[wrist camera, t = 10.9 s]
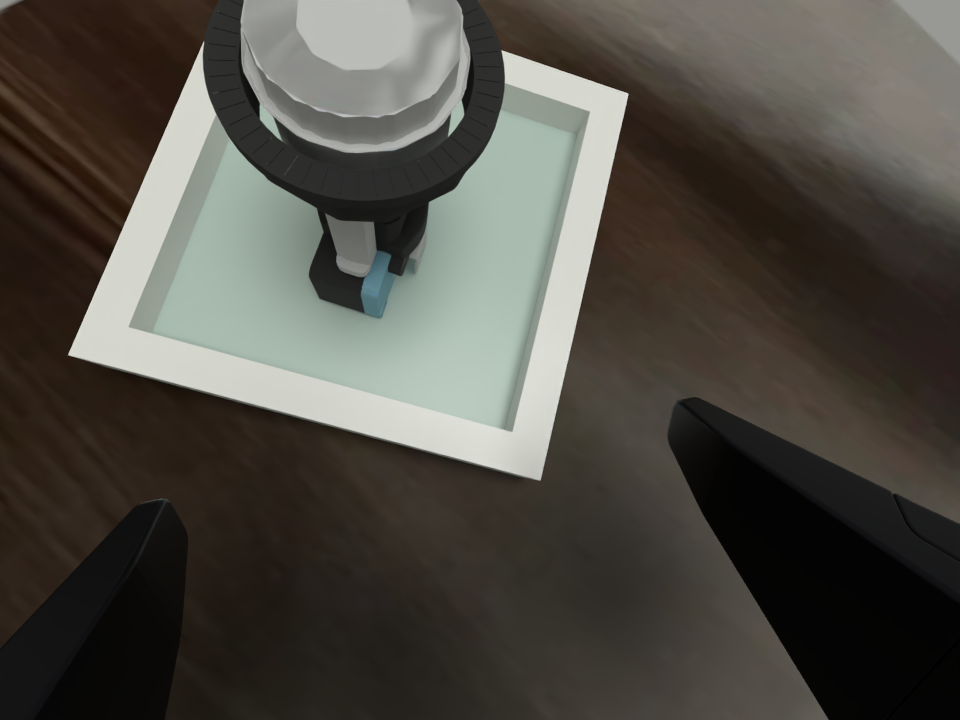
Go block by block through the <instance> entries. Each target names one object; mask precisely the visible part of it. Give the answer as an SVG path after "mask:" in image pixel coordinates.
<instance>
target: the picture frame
mask: <svg viewBox="0 0 960 720" xmlns="http://www.w3.org/2000/svg"><path fill="white" fill-rule="evenodd" d="M203 47H204V42H203V45H202V47H201V49H200V52H199V54H198V56H197V59H196V61H195V63H194V66H193V68H192V70H191V72H190V75H189V77H188V79H187V82H186V84H185V86H184V89H183V91H182V93H181V96H180V98H179V100H178V103H177V105H176V107H175V109H174V112H173V114H172V116H171V119H170V121H169V123H168V126H167V128H166V130H165V133H164V135H163V137H162V139H161V142H160V144H159V146H158V149H157V151H156V153H155V156H154V158H153V160H152V163H151V165H150V167H149V170H148V172H147V174H146V176H145V179H144V181H143V183H142V186H141V188H140V190H139V193H138V195H137V197H136V200H135V202H134V204H133V206H132V209H131V211H130V213H129V216H128V218H127V220H126V223H125V225H124V227H123V230H122V232H121V234H120V237H119V239H118V241H117V243H116V246H115V248H114V250H113V253H112V255H111V257H110V260H109V262H108V264H107V267H106V269H105V271H104V273H103V276H102V278H101V280H100V283H99V285H98V287H97V290H96V292H95V294H94V297H93V299H92V301H91V304H90V306H89V308H88V310H87V313H86V315H85V317H84V320H83V322H82V324H81V327H80V329H79V331H78V334H77V336H76V338H75V340H74V343H73V345H72V347H71V350H70V352H69V354H68V355H70V356H73V357H76V358H79V359H83V360H86V361H89V362H92V363H95V364H98V365H101V366H105V367H108V368H111V369H115V370H119V371H123V372H126V373H130V374H134V375H138V376H141V377H145V378H149V379H153V380H156V381H160V382H164V383H168V384H171V385H175V386H179V387H183V388H187V389H190V390H194V391H198V392H202V393H205V394H209V395H213V396H217V397H220V398H224V399H228V400H232V401H235V402H239V403H243V404H247V405H250V406H254V407H258V408H262V409H266V410H269V411H273V412H277V413H281V414H284V415H288V416H292V417H296V418H299V419H303V420H307V421H311V422H314V423H318V424H322V425H326V426H329V427H333V428H337V429H341V430H344V431H348V432H352V433H356V434H360V435H363V436H367V437H371V438H375V439H378V440H382V441H386V442H390V443H393V444H397V445H401V446H405V447H408V448H412V449H416V450H420V451H423V452H427V453H431V454H435V455H439V456H442V457H446V458H450V459H454V460H457V461H461V462H465V463H469V464H472V465H476V466H480V467H484V468H487V469H491V470H495V471H499V472H502V473H506V474H510V475H514V476H517V477H521V478H526V479H532V480H539V481H541V476H542V472H543V468H544V463H545V459H546V454H547V450H548V446H549V441H550V437H551V432H552V428H553V424H554V419H555V415H556V410H557V406H558V402H559V397H560V393H561V388H562V384H563V380H564V375H565V371H566V366H567V362H568V358H569V353H570V349H571V344H572V340H573V336H574V331H575V327H576V322H577V318H578V314H579V309H580V305H581V300H582V296H583V292H584V287H585V283H586V278H587V274H588V270H589V265H590V261H591V256H592V252H593V248H594V243H595V239H596V234H597V230H598V226H599V221H600V217H601V212H602V208H603V204H604V199H605V195H606V190H607V186H608V182H609V177H610V173H611V168H612V164H613V160H614V155H615V151H616V146H617V142H618V138H619V133H620V129H621V124H622V120H623V116H624V111H625V107H626V102H627V98H628V93H625V92H622V91H619V90H616V89H613V88H610V87H607V86H604V85H601V84H598V83H595V82H592V81H590V80H587V79H584V78H581V77H578V76H575V75H572V74H569V73H566V72H563V71H560V70H557V69H554V68H552V67H549V66H546V65H543V64H540V63H537V62H534V61H531V60H528V59H525V58H522V57H519V56H516V55H513V54H511V53H508V52H505V51H502V50H501V51H502V56H503V61H504V70H505V89H504V96H503V102H502V107H501V110H500V113H499V117H498V120H497V124H496V127H495V130H494V132H493V134H492V137H491V139H490V141H489V143H488V144H487V146H486V148H485V149H484V151H483V153H482V154H481V155H480V157H479V158H478V159H477V161H476V162H475V163H474V164H473V165H472V166H471V167H470V168H469V169H468V170H467V171H466V173H465V174H464V176H463V178H462V179H461V181H460V183H459V184H458V186H457V187H456V188H455V189H454V190H452V191H450V192H448V193H446V194H444V195H442V196H440V197H438V198H436V199H434V200H432V201H430V202H429V208H428V217H427V225H426V229H427V238H426V246H425V249H424V253H423V256H422V259H421V261H420V264H419V267H418V270H417V273H416V274H415V273H414V264H415V260H414V259H411V258H409V259H408V262H407V265H406V268H405V271H404V273H403V275H402V276H398V275H396V276H395V278H394V281H393V284H392V287H391V290H390V293H389V296H388V299H387V305H386V307H385V310H384V313H383V316H382V318H379V317H376V316H372V315H369V314H366V313H362V312H359V311H356V310H353V309H350V308H347V307H344V306H341V305H338V304H334V303H331V302H328V301H325V300H322V299H319V297H318V295H317V293H316V291H315V289H314V287H313V285H312V282H311V280H310V278H309V270H310V266H311V263H312V261H313V258H314V256H315V253H316V250H317V248H318V245H319V243H320V240H321V237H322V235H323V229H322V226H321V223H320V219H319V216H318V212H317V208H315V207H314V206H312V205H310V204H308V203H307V202H305V201H303V200H301V199H300V198H298V197H296V196H294V195H293V194H291V193H289V192H287V191H286V190H284V189H282V188H280V187H279V186H277V185H275V184H273V183H272V182H270V181H269V180H268V179H267V178H266V177H265V176H264V175H263V174H262V173H261V172H259V171H258V170H257V169H256V168H255V167H254V166H253V165H252V164H251V163H249V162H248V161H247V159H246V158H245V157H244V156H243V155H242V154H241V153H240V152H239V151H238V149H237V148H236V146H235V145H234V144H233V142H232V141H231V140H230V138H229V137H228V135H227V133H226V131H225V129H224V128H223V126H222V124H221V122H220V120H219V118H218V117H217V115H216V113H215V110H214V108H213V106H212V103H211V101H210V98H209V95H208V91H207V88H206V84H205V78H204V72H203ZM463 116H464V109H463V105H462V100H461V101H460V102H459V103H458V105H457V106H456V107H455V109H454V110H453V112H452V114H451V120H450V127H449V133H448V137H449V136H450V134H451V133H452V132H453V131H454V130H455V129H456V127H457V126H458V124H459V123H460V121H461V120H462V118H463ZM260 120H261V121H262V122H263V124H264V125H265V126H266V127H267V128H268V129H269V130H270V131H271V132H272V133H273V134H274V135H275V136H276V137H277V138H279V139H280V140H281V137H280V134H279V132H278V129H277V126H276V123H275V120H274V118H273V116H272V115H271V114H269V113H268V112H267V111H266V110H265V109H264V107H263V106H262V105H261V104H260ZM281 141H282V140H281Z"/></svg>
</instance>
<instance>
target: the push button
mask: <svg viewBox="0 0 960 720" xmlns="http://www.w3.org/2000/svg"><path fill="white" fill-rule="evenodd" d="M203 72H204V78H205V84H206V88H207V91H208V95H209V98H210V101H211V103H212V106H213V108H214V110H215V113H216V115H217V117H218V118H219V120H220V122H221V124H222V126H223V128H224V129H225V131H226V133H227V135H228V137H229V138H230V140H231V141H232V142H233V144H234V145H235V146H236V148H237V149H238V151H239V152H240V153H241V154H242V155H243V156H244V157H245V158H246V159H247V161H248V162H249V163H251V164H252V165H253V166H254V167H255V168H256V169H257V170H258V171H259V172H261V173H262V174H263V175H264V176H265V177H266V178H267V179H268V180H269V181H270V182H272V183H273V184H275V185H277V186H279V187H280V188H282V189H284V190H286V191H287V192H289V193H291V194H293V195H294V196H296V197H298V198H300V199H301V200H303V201H305V202H307V203H308V204H310V205H312V206H314V207H315V208H317V212H318V216H319V219H320V223H321V226H322V229H323V235H322V237H321V240H320V243H319V245H318V248H317V250H316V253H315V256H314V258H313V261H312V263H311V266H310V270H309V278H310V280H311V282H312V285H313V287H314V289H315V291H316V293H317V295H318V297H319V299H322V300H325V301H328V302H331V303H334V304H338V305H341V306H344V307H347V308H350V309H353V310H356V311H359V312H362V313H366V314H369V315H372V316H376V317H379V318H382V316H383V313H384V310H385V307H386V305H387V299H388V296H389V293H390V290H391V287H392V284H393V281H394V278H395V276H396V275H398V276H402V275H403V273H404V271H405V268H406V265H407V262H408V259H409V258H411V259H414V260H415V264H414V273H415V274H416V273H417V270H418V267H419V264H420V261H421V259H422V256H423V253H424V249H425V246H426V238H427V229H426V225H427V217H428V208H429V202H430V201H432V200H434V199H436V198H438V197H440V196H442V195H444V194H446V193H448V192H450V191H452V190H454V189H455V188H456V187H457V186H458V184H459V183H460V181H461V179H462V178H463V176H464V174H465V173H466V171H467V170H468V169H469V168H470V167H471V166H472V165H473V164H474V163H475V162H476V161H477V159H478V158H479V157H480V155H481V154H482V153H483V151H484V149H485V148H486V146H487V144H488V143H489V141H490V139H491V137H492V134H493V132H494V130H495V127H496V124H497V120H498V117H499V113H500V110H501V107H502V102H503V96H504V89H505V70H504V61H503V56H502V51H501V47H500V44H499V41H498V38H497V35H496V33H495V30H494V28H493V26H492V24H491V22H490V20H489V18H488V17H487V15H486V13H485V12H484V10H483V9H482V7H481V6H480V4H479V3H478V1H477V0H219V1H218V3H217V5H216V7H215V9H214V11H213V13H212V15H211V18H210V21H209V23H208V26H207V30H206V34H205V39H204V47H203ZM461 100H462V105H463V109H464V116H463V118H462V120H461V121H460V123H459V124H458V126H457V127H456V129H455V130H454V131H453V132H452V133H451V134H450V136H449V137H448V133H449V127H450V120H451V114H452V112H453V110H454V109H455V107H456V106H457V105H458V103H459V102H460V101H461ZM260 104H261V105H262V106H263V107H264V109H265V110H266V111H267V112H268V113H269V114H271V115H272V116H273V118H274V120H275V123H276V126H277V129H278V132H279V134H280V137H281V140H282V141H281V140H280V139H279V138H277V137H276V136H275V135H274V134H273V133H272V132H271V131H270V130H269V129H268V128H267V127H266V126H265V125H264V124H263V122H262V121H261V120H260Z"/></svg>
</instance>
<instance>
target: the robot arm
mask: <svg viewBox="0 0 960 720" xmlns="http://www.w3.org/2000/svg"><path fill="white" fill-rule="evenodd" d="M667 437H668V442H669V445H670V447H671V449H672V451H673V453H674V455H675V458H676V460H677V462H678V464H679V466H680V468H681V470H682V472H683V474H684V477H685V479H686V481H687V483H688V485H689V487H690V489H691V491H692V493H693V496H694V498H695V500H696V502H697V504H698V506H699V508H700V510H701V512H702V513H703V515H704V517H705V519H706V520H707V522H708V524H709V525H710V527H711V529H712V530H713V532H714V534H715V535H716V537H717V538H718V540H719V542H720V543H721V545H722V547H723V548H724V550H725V551H726V553H727V555H728V556H729V558H730V560H731V561H732V563H733V564H734V566H735V568H736V569H737V571H738V573H739V574H740V576H741V578H742V579H743V581H744V582H745V584H746V586H747V587H748V589H749V591H750V592H751V594H752V595H753V597H754V599H755V600H756V602H757V604H758V605H759V607H760V609H761V610H762V612H763V613H764V615H765V617H766V618H767V620H768V622H769V623H770V625H771V626H772V628H773V630H774V631H775V633H776V635H777V636H778V638H779V639H780V641H781V643H782V644H783V646H784V648H785V649H786V651H787V653H788V654H789V656H790V657H791V659H792V661H793V662H794V664H795V666H796V667H797V669H798V670H799V672H800V674H801V675H802V677H803V679H804V680H805V682H806V684H807V685H808V687H809V688H810V690H811V692H812V693H813V695H814V697H815V698H816V700H817V701H818V703H819V705H820V706H821V708H822V710H823V711H824V713H825V714H826V716H827V718H828V719H829V720H960V524H959V523H957V522H955V521H952V520H950V519H948V518H946V517H944V516H942V515H940V514H938V513H935V512H933V511H931V510H929V509H927V508H925V507H923V506H920V505H918V504H916V503H914V502H912V501H910V500H908V499H906V498H904V497H902V496H900V495H898V494H892V492H891V491H889V490H887V489H885V488H883V487H881V486H879V485H877V484H875V483H873V482H871V481H869V480H867V479H865V478H863V477H861V476H859V475H856V474H854V473H852V472H850V471H848V470H846V469H844V468H842V467H840V466H838V465H836V464H834V463H832V462H830V461H828V460H826V459H824V458H821V457H819V456H817V455H815V454H813V453H811V452H809V451H807V450H805V449H803V448H801V447H799V446H797V445H795V444H793V443H791V442H789V441H787V440H784V439H782V438H780V437H778V436H776V435H774V434H772V433H770V432H768V431H766V430H764V429H762V428H760V427H758V426H756V425H754V424H752V423H749V422H747V421H745V420H743V419H741V418H739V417H737V416H735V415H733V414H731V413H729V412H727V411H725V410H723V409H721V408H719V407H717V406H714V405H712V404H710V403H708V402H706V401H704V400H702V399H700V398H697V397H693V398H687V399H682V400H678V401H676V402H675V404H674V405H673V409H672V413H671V418H670V423H669V427H668V433H667ZM187 551H188V536H187V532H186V529H185V527H184V525H183V523H182V521H181V519H180V518H179V516H178V514H177V512H176V510H175V509H174V507H173V505H172V503H171V502H170V501H169V500H168V499H165V498H161V499H156V500H151V501H145V502H142V503H139V504H138V505H136V506H135V507H134V508H133V509H132V510H131V511H130V512H129V513H128V515H127V516H126V517H125V518H124V519H123V520H122V521H121V522H120V523H119V524H118V525H117V526H116V527H115V528H114V529H113V530H112V531H111V532H110V533H109V535H108V536H107V537H106V538H105V539H104V540H103V541H102V542H101V543H100V544H99V545H98V546H97V547H96V548H95V549H94V550H93V551H92V552H91V554H90V555H89V556H88V557H87V558H86V559H85V560H84V561H83V562H82V563H81V564H80V565H79V566H78V567H77V568H76V569H75V570H74V571H73V572H72V574H71V575H70V576H69V577H68V578H67V579H66V580H65V581H64V582H63V583H62V584H61V585H60V586H59V587H58V588H57V589H56V590H55V591H54V593H53V594H52V595H51V596H50V597H49V598H48V599H47V600H46V601H45V602H44V603H43V604H42V605H41V606H40V607H39V608H38V609H37V610H36V611H35V613H34V614H33V615H32V616H31V617H30V618H29V619H28V620H27V621H26V622H25V623H24V624H23V625H22V626H21V627H20V628H19V629H18V630H17V632H16V633H15V634H14V635H13V636H12V637H11V638H10V639H9V640H8V641H7V642H6V643H5V644H4V645H3V646H2V647H1V648H0V720H165V716H166V711H167V705H168V700H169V695H170V690H171V685H172V680H173V674H174V669H175V664H176V659H177V654H178V648H179V642H180V636H181V629H182V619H183V606H184V592H185V578H186V564H187Z"/></svg>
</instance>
